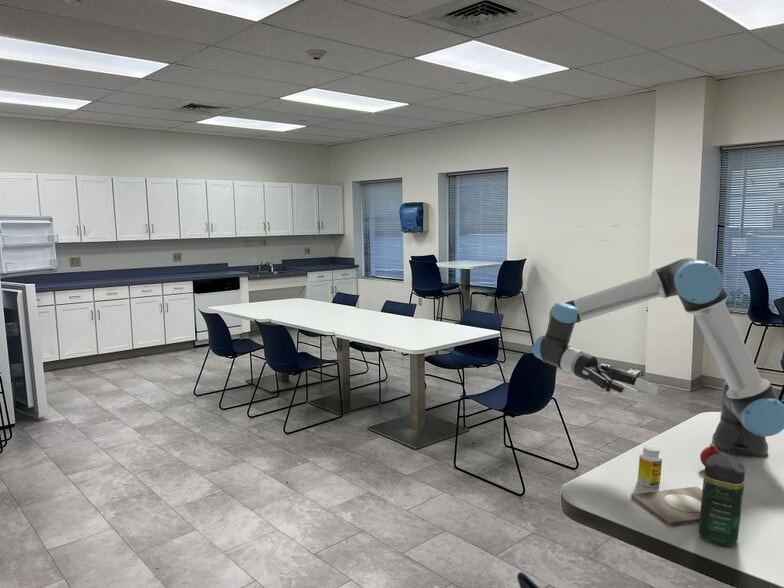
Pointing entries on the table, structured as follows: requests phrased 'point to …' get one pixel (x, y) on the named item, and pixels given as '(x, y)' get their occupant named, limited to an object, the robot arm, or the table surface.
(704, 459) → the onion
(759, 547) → the table surface
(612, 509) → the table surface
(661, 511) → the brown flat board
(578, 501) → the table surface
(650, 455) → the supplement bottle
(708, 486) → the coffee jar
